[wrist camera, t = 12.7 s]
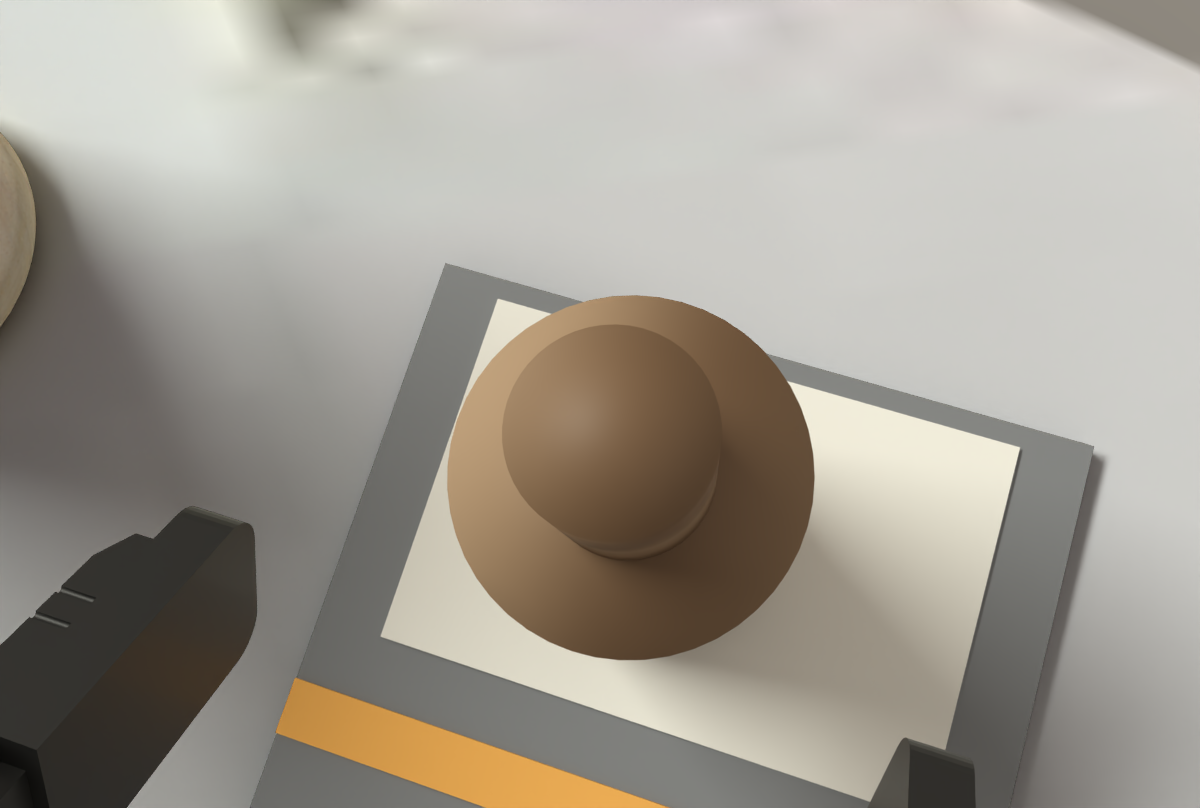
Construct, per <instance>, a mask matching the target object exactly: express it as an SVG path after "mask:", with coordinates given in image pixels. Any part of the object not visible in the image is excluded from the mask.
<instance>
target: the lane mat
mask: <svg viewBox="0 0 1200 808" xmlns="http://www.w3.org/2000/svg"><path fill="white" fill-rule="evenodd" d="M579 303H582V302H581V301H578V300H574V299H570V298H567V297H563V296H560V295H556V294H553V293H549V292H546V291H542V290H539V289H535V288H531V287H528V286H524V285H521V284H517V283H514V282H510V281H507V280H503V279H500V278H496V277H493V276H489V275H485V274H482V273H478V272H475V271H471V270H468V269H464V268H461V267H457V266H454V265H450V264H446V263H445V266H444V269H443V272H442V274H441V277H440V280H439V283H438V286H437V288H436V291H435V294H434V297H433V299H432V302H431V305H430V308H429V311H428V313H427V316H426V319H425V322H424V325H423V327H422V330H421V333H420V336H419V338H418V341H417V344H416V347H415V350H414V352H413V355H412V358H411V361H410V363H409V366H408V369H407V372H406V375H405V377H404V380H403V383H402V386H401V389H400V391H399V394H398V397H397V400H396V402H395V405H394V408H393V411H392V414H391V416H390V419H389V422H388V425H387V427H386V430H385V433H384V436H383V439H382V441H381V444H380V447H379V450H378V453H377V455H376V458H375V461H374V464H373V466H372V469H371V472H370V475H369V478H368V480H367V483H366V486H365V489H364V491H363V494H362V497H361V500H360V503H359V505H358V508H357V511H356V514H355V517H354V519H353V522H352V525H351V528H350V530H349V533H348V536H347V539H346V542H345V544H344V547H343V550H342V553H341V555H340V558H339V561H338V564H337V567H336V569H335V572H334V575H333V578H332V581H331V583H330V586H329V589H328V592H327V594H326V597H325V600H324V603H323V606H322V608H321V611H320V614H319V617H318V619H317V622H316V625H315V628H314V631H313V633H312V636H311V639H310V642H309V645H308V647H307V650H306V653H305V656H304V658H303V661H302V664H301V667H300V670H299V672H298V675H297V678H295V679H294V682H293V685H292V687H291V690H290V693H289V696H288V699H287V701H286V704H285V707H284V710H283V712H282V715H281V718H280V721H279V724H278V726H277V729H276V732H275V733H277V734H276V736H275V739H274V742H273V745H272V747H271V750H270V753H269V756H268V759H267V761H266V764H265V767H264V770H263V773H262V775H261V778H260V781H259V784H258V786H257V789H256V792H255V795H254V798H253V800H252V803H251V806H250V808H867V807H868V805H869V803H870V801H871V799H872V797H873V795H874V793H875V791H876V789H877V787H878V785H879V783H880V781H881V779H882V777H883V775H884V773H885V771H886V769H887V767H888V765H889V763H890V761H891V759H892V757H893V755H894V753H895V751H896V749H897V747H898V745H899V743H900V742H901V740H902V739H903V738H909V739H912V740H915V741H918V742H921V743H924V744H928V745H931V746H934V747H937V748H940V749H943V750H946V751H949V752H952V753H956V754H959V755H962V756H965V757H968V758H970V759H971V760H972V761H973V764H974V769H975V798H976V808H1009V807H1010V803H1011V799H1012V795H1013V790H1014V786H1015V782H1016V778H1017V773H1018V769H1019V765H1020V761H1021V756H1022V752H1023V748H1024V744H1025V739H1026V735H1027V731H1028V726H1029V722H1030V718H1031V714H1032V709H1033V705H1034V701H1035V697H1036V692H1037V688H1038V684H1039V680H1040V675H1041V671H1042V667H1043V663H1044V658H1045V654H1046V650H1047V645H1048V641H1049V637H1050V633H1051V628H1052V624H1053V620H1054V616H1055V611H1056V607H1057V603H1058V599H1059V594H1060V590H1061V586H1062V582H1063V577H1064V573H1065V569H1066V565H1067V560H1068V556H1069V552H1070V547H1071V543H1072V539H1073V535H1074V530H1075V526H1076V522H1077V518H1078V513H1079V509H1080V505H1081V501H1082V496H1083V492H1084V488H1085V484H1086V479H1087V475H1088V471H1089V466H1090V462H1091V458H1092V454H1093V449H1094V446H1091V445H1088V444H1084V443H1081V442H1077V441H1074V440H1070V439H1067V438H1063V437H1060V436H1056V435H1052V434H1049V433H1045V432H1042V431H1038V430H1035V429H1031V428H1028V427H1024V426H1021V425H1017V424H1013V423H1010V422H1006V421H1003V420H999V419H996V418H992V417H989V416H985V415H982V414H978V413H974V412H971V411H967V410H964V409H960V408H957V407H953V406H950V405H946V404H943V403H939V402H936V401H932V400H928V399H925V398H921V397H918V396H914V395H911V394H907V393H904V392H900V391H897V390H893V389H889V388H886V387H882V386H879V385H875V384H872V383H868V382H865V381H861V380H858V379H854V378H850V377H847V376H843V375H840V374H836V373H833V372H829V371H826V370H822V369H819V368H815V367H811V366H808V365H804V364H801V363H797V362H794V361H790V360H787V359H783V358H780V357H776V356H772V355H769V354H767V355H768V356H769V358H770V359H771V360H772V361H773V362H774V363H775V364H776V366H777V367H778V368H779V370H780V371H781V373H782V374H783V376H784V377H785V379H786V380H787V382H788V383H789V385H790V386H791V388H792V390H793V392H794V394H795V396H796V398H797V400H798V402H799V404H800V407H801V409H802V412H803V415H804V418H805V421H806V424H807V427H808V430H809V434H810V440H811V445H812V450H813V457H814V474H815V481H814V495H813V504H812V509H811V514H810V519H809V523H808V527H807V530H806V533H805V536H804V538H803V541H802V544H801V547H800V550H799V552H798V553H797V555H796V557H795V559H794V561H793V563H792V565H791V567H790V569H789V571H788V572H787V574H786V575H785V577H784V578H783V580H782V581H781V582H780V584H779V585H778V587H777V588H776V589H775V591H774V592H773V593H772V594H771V595H770V596H769V598H768V599H767V600H766V601H765V602H764V603H763V604H762V605H761V606H760V607H759V608H758V609H757V610H756V611H755V612H754V613H753V614H751V615H750V616H749V617H748V618H747V619H745V620H744V621H743V622H742V623H741V624H739V625H738V626H737V627H735V628H733V629H732V630H730V631H729V632H727V633H725V634H724V635H722V636H721V637H719V638H717V639H715V640H713V641H711V642H709V643H706V644H704V645H702V646H700V647H697V648H695V649H693V650H689V651H686V652H682V653H679V654H675V655H672V656H668V657H661V658H655V659H648V660H613V659H605V658H596V657H592V656H588V655H584V654H580V653H576V652H573V651H570V650H567V649H565V648H562V647H560V646H557V645H555V644H553V643H550V642H548V641H546V640H544V639H543V638H541V637H539V636H538V635H536V634H534V633H532V632H531V631H529V630H527V629H526V628H525V627H523V626H522V625H521V624H519V623H518V622H517V621H515V620H514V619H513V618H512V617H510V616H509V615H508V614H507V613H506V612H505V611H504V610H503V609H502V608H501V607H500V606H499V605H498V604H497V603H496V602H495V601H494V600H493V599H492V598H491V597H490V596H489V594H488V593H487V592H486V590H485V589H484V588H483V586H482V585H481V584H480V582H479V581H478V580H477V578H476V577H475V575H474V573H473V571H472V569H471V568H470V566H469V564H468V562H467V561H466V559H465V557H464V554H463V552H462V549H461V547H460V544H459V542H458V539H457V537H456V534H455V530H454V526H453V522H452V518H451V514H450V508H449V499H448V491H447V468H448V458H449V451H450V444H451V440H452V436H453V432H454V429H455V425H456V422H457V419H458V416H459V414H460V411H461V409H462V407H463V404H464V402H465V400H466V397H467V396H468V394H469V392H470V390H471V389H472V387H473V385H474V384H475V382H476V380H477V378H478V377H479V376H480V374H481V373H482V372H483V370H484V369H485V368H486V366H487V365H488V364H489V363H490V361H491V360H492V359H493V358H494V357H495V356H496V355H497V354H498V353H499V352H500V351H501V350H502V349H503V348H504V347H505V346H506V345H507V344H508V343H509V342H510V341H511V340H512V339H514V338H515V337H516V336H517V335H519V334H520V333H521V332H523V331H524V330H525V329H526V328H528V327H530V326H531V325H533V324H535V323H536V322H538V321H540V320H541V319H543V318H545V317H546V316H548V315H551V314H553V313H555V312H557V311H560V310H562V309H564V308H566V307H569V306H573V305H576V304H579Z"/></svg>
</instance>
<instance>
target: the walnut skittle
mask: <svg viewBox="0 0 1200 808" xmlns="http://www.w3.org/2000/svg"><path fill="white" fill-rule="evenodd" d="M814 481H815V474H814V457H813V450H812V445H811V440H810V434H809V430H808V427H807V424H806V421H805V418H804V415H803V412H802V409H801V407H800V404H799V402H798V400H797V398H796V396H795V394H794V392H793V390H792V388H791V386H790V385H789V383H788V382H787V380H786V379H785V377H784V376H783V374H782V373H781V371H780V370H779V368H778V367H777V366H776V364H775V363H774V362H773V361H772V360H771V359H770V358H769V356H768V355H767V354H766V353H765V352H764V351H763V350H762V349H761V348H760V347H759V346H758V345H757V344H756V343H755V342H753V341H752V340H751V339H750V338H749V337H748V336H747V335H745V334H744V333H743V332H741V331H740V330H738V329H737V328H735V327H734V326H732V325H731V324H729V323H728V322H726V321H725V320H723V319H721V318H719V317H717V316H715V315H713V314H711V313H709V312H707V311H705V310H703V309H700V308H697V307H694V306H691V305H688V304H686V303H683V302H679V301H674V300H669V299H664V298H660V297H649V296H637V295H634V296H612V297H606V298H600V299H594V300H589V301H586V302H582V303H579V304H576V305H573V306H569V307H566V308H564V309H562V310H560V311H557V312H555V313H553V314H551V315H548V316H546V317H545V318H543V319H541V320H540V321H538V322H536V323H535V324H533V325H531V326H530V327H528V328H526V329H525V330H524V331H523V332H521V333H520V334H519V335H517V336H516V337H515V338H514V339H512V340H511V341H510V342H509V343H508V344H507V345H506V346H505V347H504V348H503V349H502V350H501V351H500V352H499V353H498V354H497V355H496V356H495V357H494V358H493V359H492V360H491V361H490V363H489V364H488V365H487V366H486V368H485V369H484V370H483V372H482V373H481V374H480V376H479V377H478V378H477V380H476V382H475V384H474V385H473V387H472V389H471V390H470V392H469V394H468V396H467V397H466V400H465V402H464V404H463V407H462V409H461V411H460V414H459V416H458V419H457V422H456V425H455V429H454V432H453V436H452V440H451V444H450V451H449V458H448V468H447V491H448V499H449V508H450V514H451V518H452V522H453V526H454V530H455V534H456V537H457V539H458V542H459V544H460V547H461V549H462V552H463V554H464V557H465V559H466V561H467V562H468V564H469V566H470V568H471V569H472V571H473V573H474V575H475V577H476V578H477V580H478V581H479V582H480V584H481V585H482V586H483V588H484V589H485V590H486V592H487V593H488V594H489V596H490V597H491V598H492V599H493V600H494V601H495V602H496V603H497V604H498V605H499V606H500V607H501V608H502V609H503V610H504V611H505V612H506V613H507V614H508V615H509V616H510V617H512V618H513V619H514V620H515V621H517V622H518V623H519V624H521V625H522V626H523V627H525V628H526V629H527V630H529V631H531V632H532V633H534V634H536V635H538V636H539V637H541V638H543V639H544V640H546V641H548V642H550V643H553V644H555V645H557V646H560V647H562V648H565V649H567V650H570V651H573V652H576V653H580V654H584V655H588V656H592V657H596V658H605V659H613V660H648V659H655V658H661V657H668V656H672V655H675V654H679V653H682V652H686V651H689V650H693V649H695V648H697V647H700V646H702V645H704V644H706V643H709V642H711V641H713V640H715V639H717V638H719V637H721V636H722V635H724V634H725V633H727V632H729V631H730V630H732V629H733V628H735V627H737V626H738V625H739V624H741V623H742V622H743V621H744V620H745V619H747V618H748V617H749V616H750V615H751V614H753V613H754V612H755V611H756V610H757V609H758V608H759V607H760V606H761V605H762V604H763V603H764V602H765V601H766V600H767V599H768V598H769V596H770V595H771V594H772V593H773V592H774V591H775V589H776V588H777V587H778V585H779V584H780V582H781V581H782V580H783V578H784V577H785V575H786V574H787V572H788V571H789V569H790V567H791V565H792V563H793V561H794V559H795V557H796V555H797V553H798V552H799V550H800V547H801V544H802V541H803V538H804V536H805V533H806V530H807V527H808V523H809V519H810V514H811V509H812V504H813V495H814Z"/></svg>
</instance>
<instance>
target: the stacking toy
mask: <svg viewBox="0 0 1200 808" xmlns="http://www.w3.org/2000/svg"><path fill="white" fill-rule="evenodd" d="M35 236H36V217H35V204H34V199H33V193H32V190H31V187H30V183H29V180H28V177H27V174H26V172H25V170H24V168H23V166H22V163H21V161H20V159H19V157H18V156H17V154H16V153H15V151H14V150H13V148H12V147H11V145H10V144H9V142H8V141H7V140H6V139H5V137H4V136H3V135H2V134H1V132H0V327H1V325H2V324H3V322H4V321H5V320H6V318H7V317H8V315H9V314H10V312H11V311H12V309H13V307H14V305H15V303H16V301H17V299H18V297H19V295H20V293H21V291H22V289H23V286H24V284H25V281H26V278H27V275H28V272H29V269H30V265H31V262H32V257H33V252H34V245H35Z"/></svg>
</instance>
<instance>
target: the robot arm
mask: <svg viewBox="0 0 1200 808" xmlns="http://www.w3.org/2000/svg"><path fill="white" fill-rule="evenodd" d="M256 616H257V593H256V564H255V537H254V531H253V528H252V526H251V525H250V524H248V523H245V522H242V521H239V520H236V519H232V518H229V517H226V516H223V515H220V514H217V513H214V512H211V511H208V510H204V509H201V508H198V507H195V506H191V507H188V508H185V509H184V510H182V511H181V512H180V513H179V514H178V515H177V516H176V517H175V518H174V519H173V520H172V521H171V522H170V523H169V524H168V525H167V526H166V527H165V528H164V529H163V530H162V531H161V532H160V533H159V534H158V535H157V536H156V537H155V538H154V539H151V538H148V537H145V536H142V535H139V534H134V535H132V536H130V537H128V538H126V539H124V540H122V541H120V542H118V543H116V544H114V545H112V546H110V547H108V548H107V549H105V550H103V551H101V552H99V553H97V554H95V555H93V556H92V557H91V558H90V559H89V560H88V561H87V562H86V563H85V564H84V565H83V566H82V567H81V568H80V569H79V570H77V571H76V572H75V573H74V574H73V575H72V576H71V577H70V578H69V579H68V580H67V581H66V582H65V583H64V584H63V585H62V588H61V590H60V592H59V593H57V592H55V593H54V594H53V595H52V596H51V597H50V598H49V599H48V600H47V601H46V602H45V603H43V604H42V605H41V606H40V607H39V608H38V609H37V610H36V614H35V616H34V617H33V618H30V617H29V618H28V619H27V620H26V621H25V622H24V623H23V624H22V625H21V626H20V627H19V628H18V629H17V630H16V631H15V632H14V633H13V634H12V635H11V636H9V637H8V638H7V639H6V640H5V641H4V642H3V643H2V644H1V645H0V808H127V807H128V805H129V804H130V803H131V801H132V800H133V799H134V797H135V796H136V795H137V793H138V792H139V791H140V789H141V788H142V787H143V785H144V784H145V783H146V782H147V780H148V779H149V778H150V776H151V775H152V774H153V772H154V771H155V770H156V768H157V767H158V766H159V764H160V763H161V762H162V760H163V759H164V758H165V757H166V755H167V754H168V753H169V751H170V750H171V749H172V747H173V746H174V745H175V743H176V742H177V741H178V739H179V738H180V737H181V735H182V734H183V733H184V731H185V730H186V729H187V728H188V726H189V725H190V724H191V722H192V721H193V720H194V718H195V717H196V716H197V714H198V713H199V712H200V710H201V709H202V708H203V706H204V705H205V704H206V703H207V701H208V700H209V699H210V697H211V696H212V695H213V693H214V692H215V691H216V689H217V688H218V687H219V685H220V684H221V683H222V681H223V680H224V679H225V678H226V676H227V675H228V674H229V672H230V671H231V670H232V668H233V667H234V666H235V664H236V663H237V662H238V660H239V659H240V657H241V656H242V654H243V652H244V651H245V649H246V647H247V645H248V643H249V640H250V638H251V635H252V632H253V629H254V626H255V621H256ZM867 808H976V798H975V769H974V764H973V761H972V760H971V759H970V758H968V757H965V756H962V755H959V754H956V753H952V752H949V751H946V750H943V749H940V748H937V747H934V746H931V745H928V744H924V743H921V742H918V741H915V740H912V739H909V738H903V739H902V740H901V742H900V743H899V745H898V747H897V749H896V751H895V753H894V755H893V757H892V759H891V761H890V763H889V765H888V767H887V769H886V771H885V773H884V775H883V777H882V779H881V781H880V783H879V785H878V787H877V789H876V791H875V793H874V795H873V797H872V799H871V801H870V803H869V805H868V807H867Z"/></svg>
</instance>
